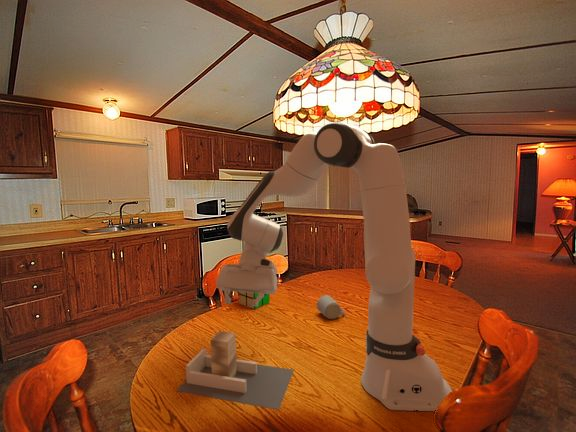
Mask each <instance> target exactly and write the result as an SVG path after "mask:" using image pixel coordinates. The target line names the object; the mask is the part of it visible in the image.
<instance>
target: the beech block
mask: <svg viewBox="0 0 576 432" xmlns="http://www.w3.org/2000/svg"><path fill="white" fill-rule="evenodd" d="M236 339H237V338H236V333H235V332H230V331H229V332H228V331H221V330H220V331H218V332H217V333H216V334H215V335H214V336H213V337H212V338H211V339H210V356H211V366H212V374H214V375H220V376H227V377H233V378H234V377H235V375H236V374H237V368H236V359H237V344H236V343H237V342H236V341H237V340H236Z"/></svg>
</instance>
